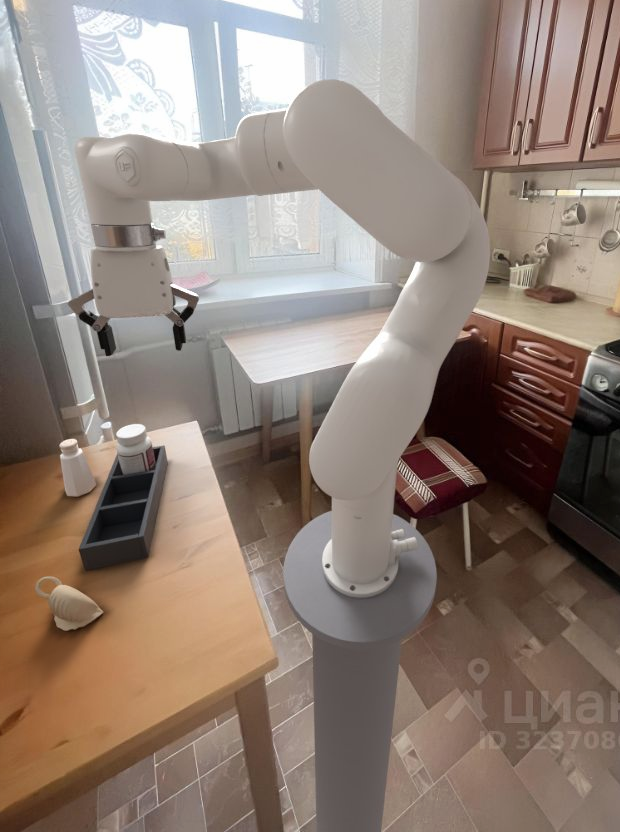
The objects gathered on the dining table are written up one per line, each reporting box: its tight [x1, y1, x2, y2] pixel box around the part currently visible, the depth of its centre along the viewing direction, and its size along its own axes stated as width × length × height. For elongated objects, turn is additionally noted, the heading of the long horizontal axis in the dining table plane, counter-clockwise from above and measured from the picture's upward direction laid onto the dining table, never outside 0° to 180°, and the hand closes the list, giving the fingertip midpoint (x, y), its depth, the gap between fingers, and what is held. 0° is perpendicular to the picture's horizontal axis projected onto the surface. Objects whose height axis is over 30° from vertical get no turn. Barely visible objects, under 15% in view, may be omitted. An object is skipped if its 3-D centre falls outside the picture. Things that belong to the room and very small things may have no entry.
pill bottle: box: [115, 423, 156, 475], centre depth 80 cm, size 6×6×11 cm
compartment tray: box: [77, 445, 169, 571], centre depth 74 cm, size 9×26×5 cm, turn 18°
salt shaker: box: [58, 438, 97, 498], centre depth 77 cm, size 5×5×11 cm
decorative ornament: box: [35, 575, 104, 632], centre depth 55 cm, size 4×8×5 cm, turn 64°
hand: (146, 350), depth 62 cm, fingers open, 9 cm apart
